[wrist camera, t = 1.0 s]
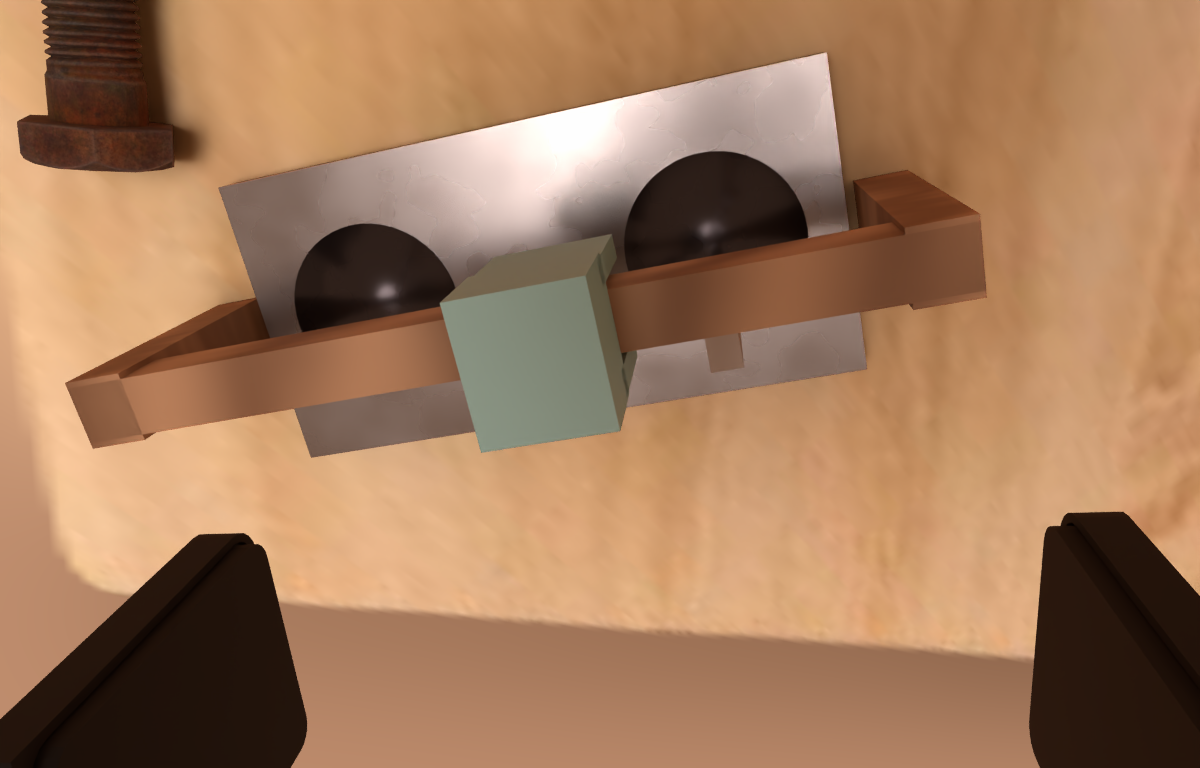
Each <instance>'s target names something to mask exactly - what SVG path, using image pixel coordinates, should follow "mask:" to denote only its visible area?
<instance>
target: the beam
mask: <svg viewBox="0 0 1200 768" xmlns="http://www.w3.org/2000/svg"><path fill="white" fill-rule="evenodd" d="M853 184H854V192H855V200H856V208H857V216H858V224H859V229H854V230H848V231H843V232H838V233H832V234H827V235H822V236H816V237H811V238H805V239H800V240H795V241H789V242H784V243H779V244H773V245H768V246H763V247H757V248H752V249H747V250H741V251H736V252H730V253H725V254H720V255H714V256H709V257H704V258H698V259H693V260H688V261H682V262H677V263H671V264H666V265H661V266H655V267H650V268H645V269H639V270H634V271H629V272H623V273H618V274H613V275H609V276H608V278H607V280H606V286H607V290H608V295H609V300H610V304H611V309H612V314H613V318H614V323H615V327H616V332H617V337H618V341H619V346H620V350H621V353H624V352H630V351H635V350H641V349H647V348H653V347H659V346H665V345H671V344H677V343H682V342H688V341H694V340H700V339H705V344H706V349H707V355H708V360H709V366H710V371H711V373H715V372H721V371H727V370H733V369H739V368H744V362H743V351H742V341H741V332H747V331H753V330H759V329H765V328H770V327H776V326H782V325H788V324H794V323H800V322H806V321H812V320H817V319H823V318H829V317H835V316H841V315H847V314H853V313H859V312H864V311H870V310H876V309H882V308H888V307H894V306H900V305H905V304H909V305H910V306H911V307H912V309H913V310H916V309H922V308H928V307H934V306H940V305H946V304H952V303H957V302H963V301H969V300H975V299H981V298H987V295H986V282H985V270H984V258H983V246H982V233H981V221H980V214H979V213H978V212H976V211H974V210H973V209H971V208H969V207H968V206H966V205H965V204H963V203H961V202H960V201H958V200H956V199H955V198H953V197H951V196H950V195H948V194H946V193H945V192H943V191H941V190H940V189H938V188H936V187H935V186H933V185H931V184H930V183H928V182H926V181H925V180H923V179H921V178H920V177H918V176H916V175H915V174H913V173H911V172H910V171H908V170H905V171H900V172H895V173H890V174H885V175H879V176H874V177H869V178H864V179H859V180H854V181H853ZM459 380H461V378H460V375H459V371H458V367H457V364H456V360H455V357H454V353H453V349H452V346H451V342H450V339H449V335H448V332H447V328H446V324H445V321H444V317H443V314H442V310H441V307H436V308H430V309H425V310H420V311H414V312H409V313H404V314H398V315H393V316H388V317H382V318H377V319H371V320H366V321H361V322H355V323H350V324H345V325H339V326H334V327H329V328H323V329H318V330H313V331H307V332H302V333H296V334H291V335H286V336H280V337H275V338H270V336H269V334H268V331H267V328H266V325H265V322H264V319H263V316H262V313H261V310H260V307H259V304H258V301H257V299H256V298H252V299H247V300H242V301H237V302H232V303H227V304H222V305H218V306H216V307H214V308H212V309H210V310H208V311H206V312H204V313H202V314H200V315H198V316H196V317H194V318H192V319H190V320H188V321H186V322H185V323H183V324H181V325H179V326H177V327H175V328H173V329H171V330H169V331H167V332H165V333H163V334H161V335H159V336H157V337H155V338H153V339H151V340H149V341H147V342H145V343H143V344H141V345H139V346H137V347H135V348H133V349H131V350H129V351H127V352H125V353H124V354H122V355H120V356H118V357H116V358H114V359H112V360H110V361H108V362H106V363H104V364H102V365H100V366H98V367H96V368H94V369H92V370H90V371H88V372H86V373H84V374H82V375H80V376H78V377H76V378H74V379H72V380H70V381H68V382H66V383H65V384H66V386H67V389H68V391H69V393H70V396H71V398H72V400H73V403H74V405H75V408H76V410H77V412H78V415H79V417H80V419H81V422H82V424H83V426H84V429H85V431H86V433H87V436H88V438H89V441H90V443H91V445H92V448H93V449H94V448H100V447H106V446H111V445H117V444H123V443H129V442H135V441H141V440H145V439H147V438H148V437H150V436H151V435H153V434H154V433H156V432H160V431H166V430H172V429H178V428H183V427H189V426H195V425H201V424H207V423H213V422H219V421H225V420H230V419H236V418H242V417H248V416H254V415H260V414H266V413H271V412H277V411H283V410H289V409H295V408H301V407H307V406H313V405H318V404H324V403H330V402H336V401H342V400H348V399H354V398H360V397H365V396H371V395H377V394H383V393H389V392H395V391H401V390H407V389H412V388H418V387H424V386H430V385H436V384H442V383H448V382H453V381H459Z"/></svg>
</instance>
